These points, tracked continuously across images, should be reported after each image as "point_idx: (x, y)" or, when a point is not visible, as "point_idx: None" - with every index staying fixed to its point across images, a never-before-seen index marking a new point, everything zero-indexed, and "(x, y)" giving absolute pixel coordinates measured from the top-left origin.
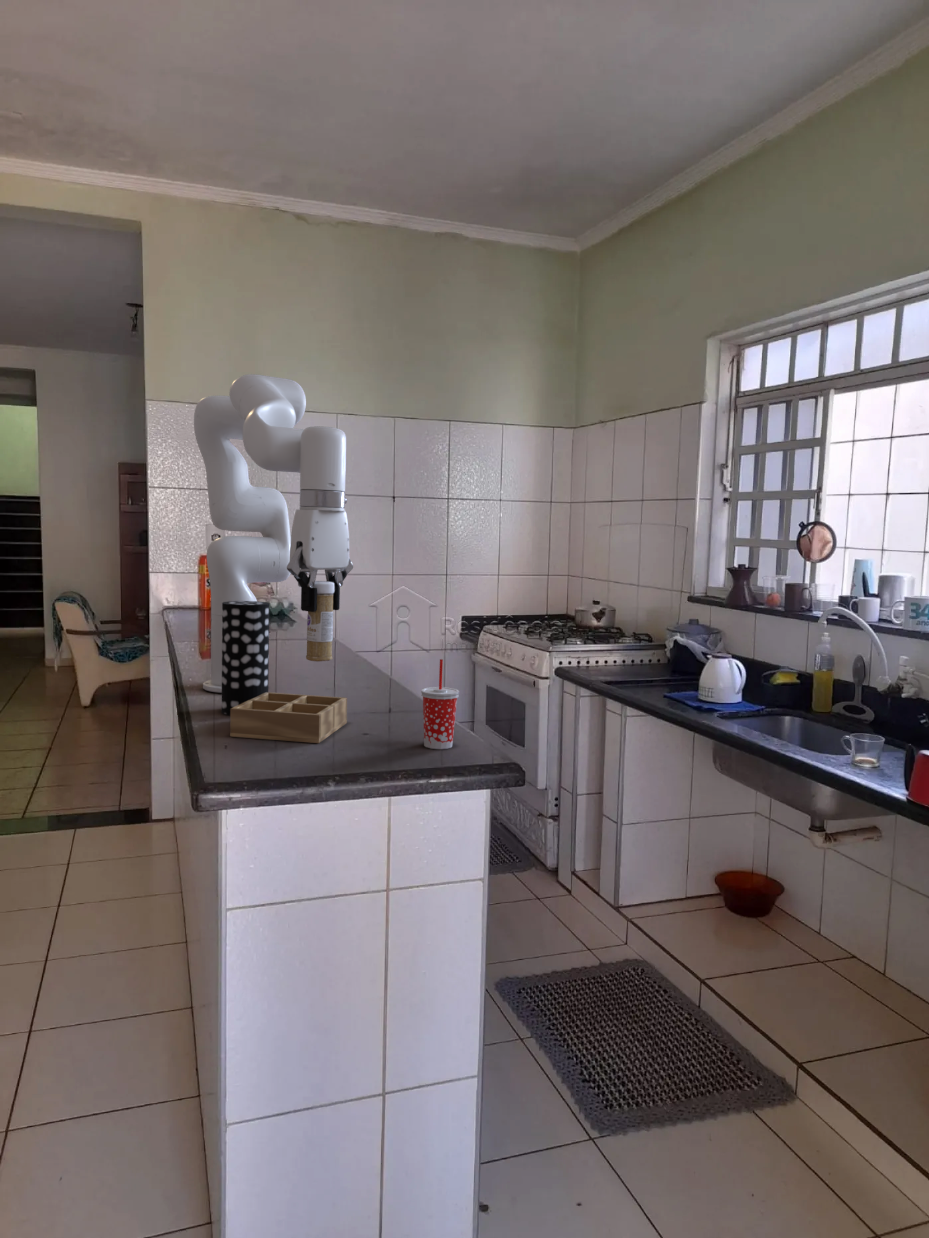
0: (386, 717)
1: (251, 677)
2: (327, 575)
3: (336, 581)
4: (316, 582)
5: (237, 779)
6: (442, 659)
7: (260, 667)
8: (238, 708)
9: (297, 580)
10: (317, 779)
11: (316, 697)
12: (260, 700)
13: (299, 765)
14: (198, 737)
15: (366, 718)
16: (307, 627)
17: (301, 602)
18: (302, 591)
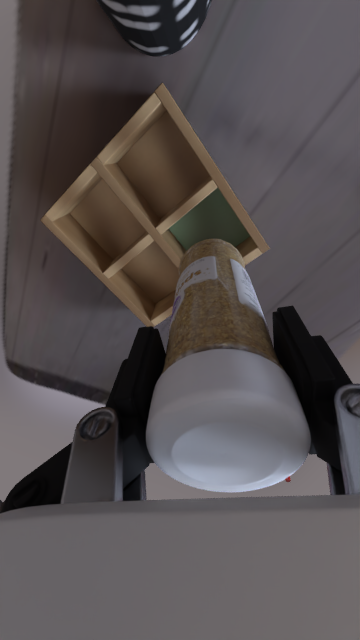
0: (348, 234)
1: (128, 17)
2: (344, 467)
3: (329, 474)
4: (172, 470)
5: (32, 364)
6: (289, 481)
7: (153, 3)
8: (53, 226)
9: (52, 464)
10: (95, 395)
11: (229, 204)
12: (111, 179)
13: (97, 361)
14: (15, 186)
15: (316, 221)
16: (175, 296)
17: (121, 365)
18: (109, 407)
